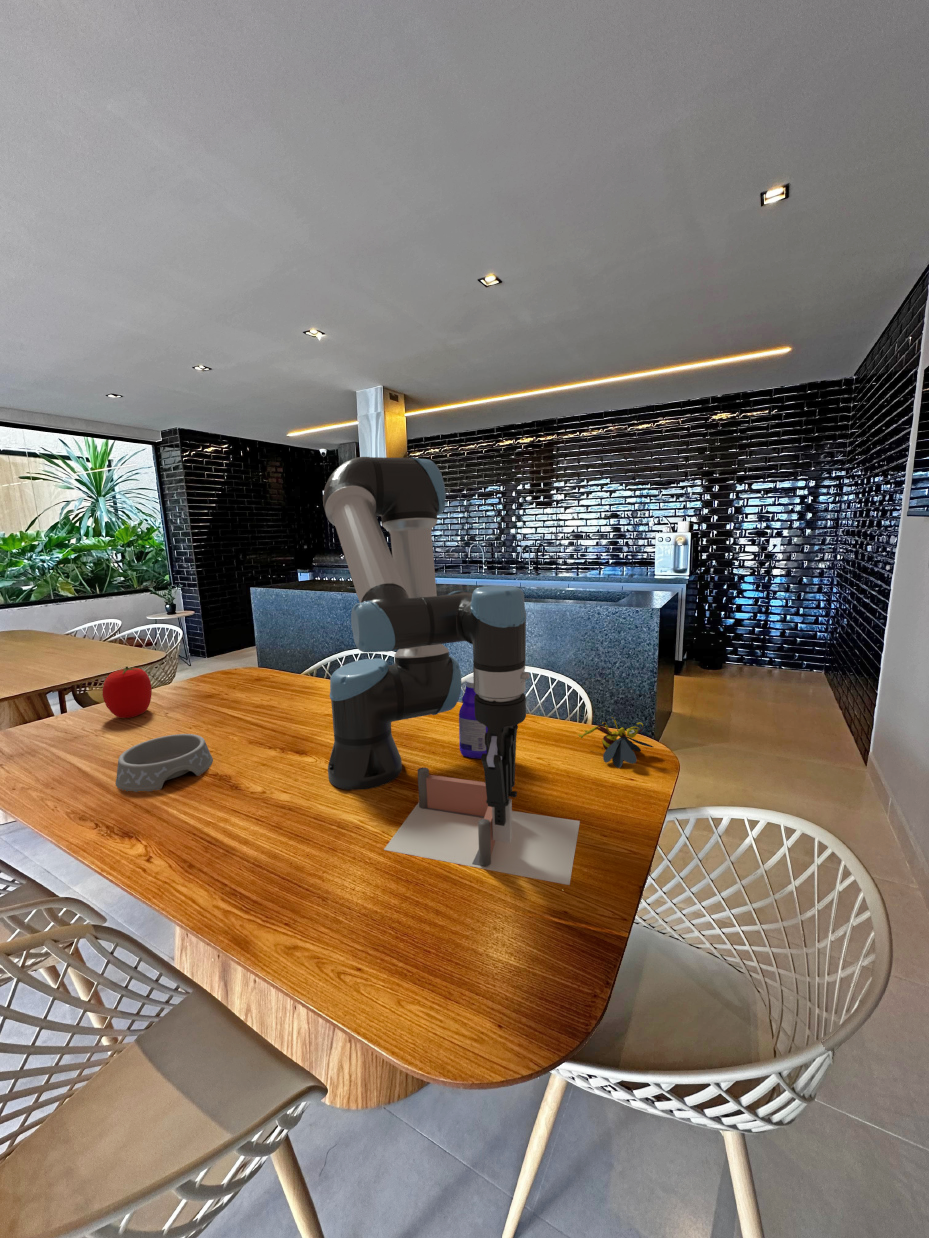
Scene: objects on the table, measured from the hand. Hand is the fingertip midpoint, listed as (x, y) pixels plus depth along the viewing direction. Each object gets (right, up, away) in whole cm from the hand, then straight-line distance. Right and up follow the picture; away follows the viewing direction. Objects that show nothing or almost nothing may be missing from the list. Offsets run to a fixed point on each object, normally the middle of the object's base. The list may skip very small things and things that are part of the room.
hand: (502, 838), depth 78 cm
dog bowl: (-71, +1, +32) cm, 77 cm away
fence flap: (-2, -2, +3) cm, 4 cm away
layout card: (-2, -2, +5) cm, 6 cm away
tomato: (-100, +7, +65) cm, 119 cm away
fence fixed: (-6, 0, +12) cm, 14 cm away
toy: (+26, +4, +33) cm, 43 cm away
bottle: (-3, +3, +35) cm, 35 cm away
